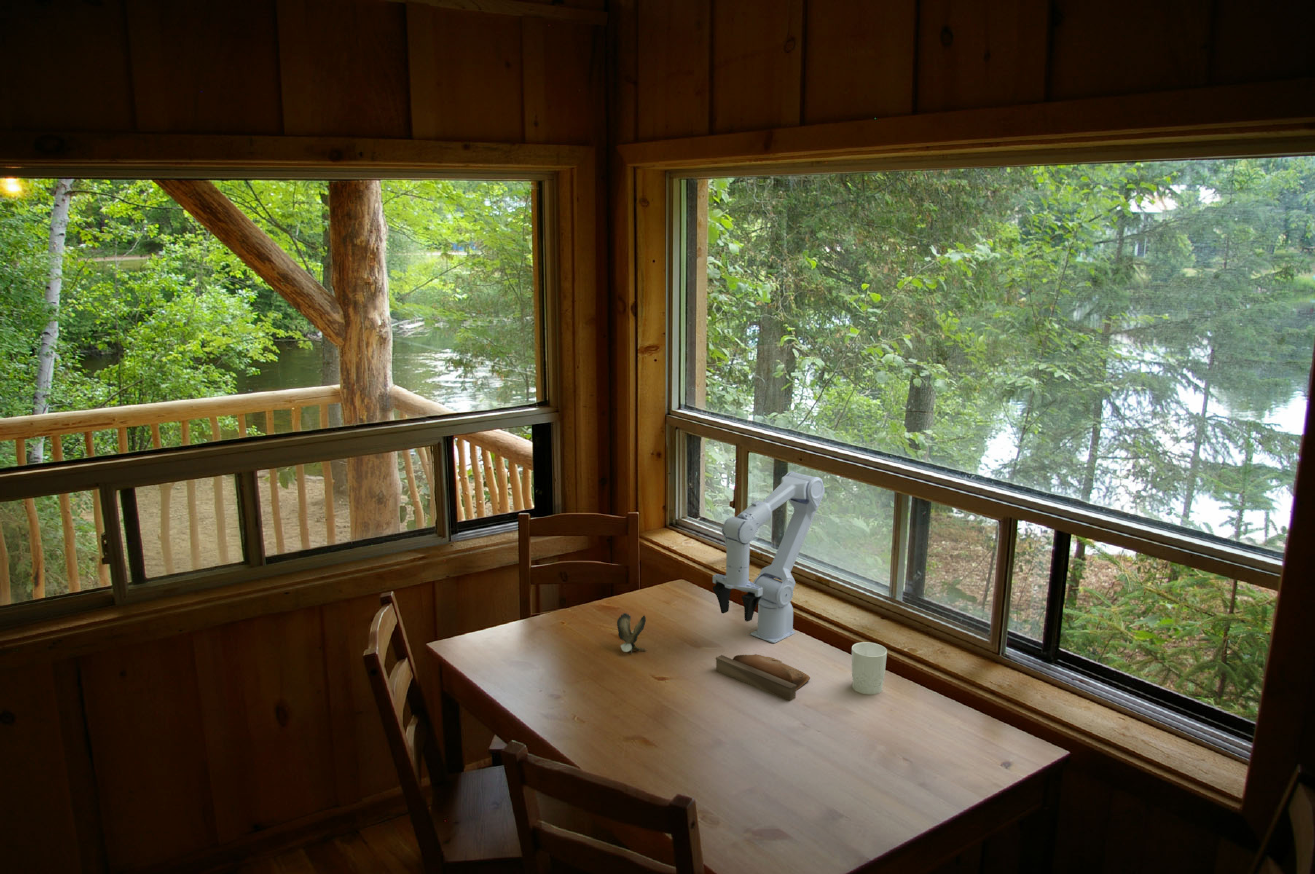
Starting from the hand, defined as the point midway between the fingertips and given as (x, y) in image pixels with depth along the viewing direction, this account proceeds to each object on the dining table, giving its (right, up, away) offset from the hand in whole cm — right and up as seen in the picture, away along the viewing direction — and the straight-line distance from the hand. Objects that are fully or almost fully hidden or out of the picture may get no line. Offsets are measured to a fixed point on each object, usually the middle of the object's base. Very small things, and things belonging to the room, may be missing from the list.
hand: (736, 616), depth 224 cm
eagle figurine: (-26, -9, +2) cm, 28 cm away
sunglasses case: (+8, -12, -11) cm, 18 cm away
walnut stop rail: (+3, -13, -16) cm, 21 cm away
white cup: (+29, -13, -19) cm, 37 cm away
